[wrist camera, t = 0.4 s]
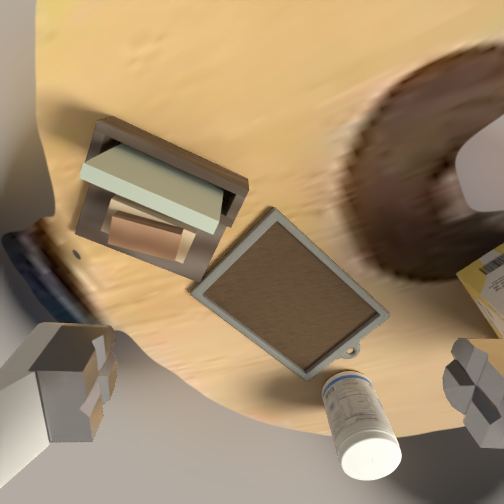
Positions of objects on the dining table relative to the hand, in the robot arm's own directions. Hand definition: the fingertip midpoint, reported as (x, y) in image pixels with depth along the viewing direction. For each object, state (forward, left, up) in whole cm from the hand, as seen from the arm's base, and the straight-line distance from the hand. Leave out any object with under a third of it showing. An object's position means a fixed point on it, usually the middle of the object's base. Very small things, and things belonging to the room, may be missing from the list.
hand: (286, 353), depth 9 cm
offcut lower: (+17, -7, -44) cm, 47 cm away
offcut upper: (+17, -7, -41) cm, 45 cm away
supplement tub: (+33, +36, -45) cm, 67 cm away
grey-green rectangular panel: (+8, -7, -45) cm, 46 cm away
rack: (+14, -7, -45) cm, 48 cm away
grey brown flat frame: (+21, +19, -46) cm, 54 cm away
